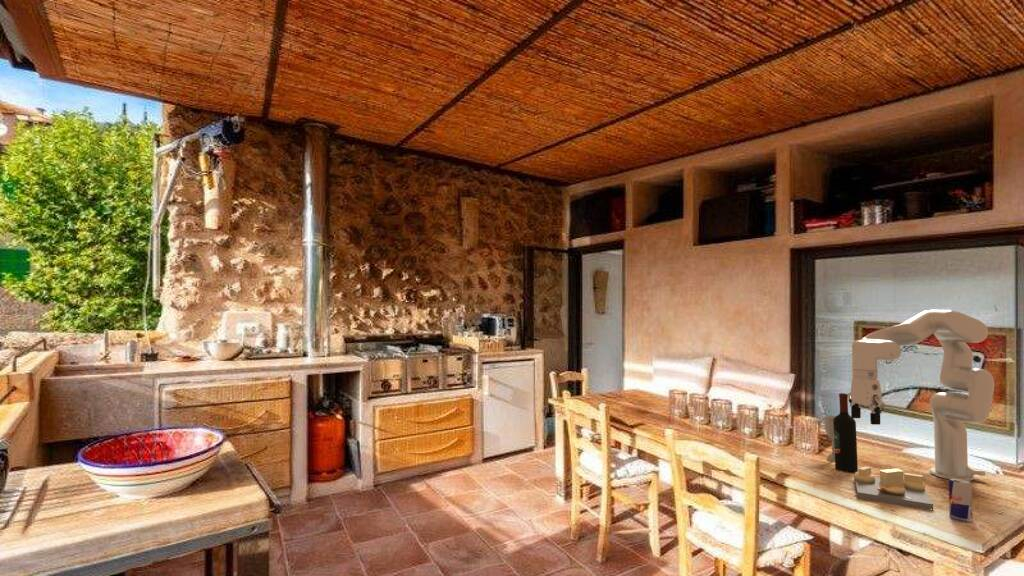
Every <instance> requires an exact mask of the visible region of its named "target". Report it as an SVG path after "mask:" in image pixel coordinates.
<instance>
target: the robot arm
mask: <svg viewBox="0 0 1024 576" xmlns="http://www.w3.org/2000/svg"><path fill="white" fill-rule="evenodd" d="M931 335H934V337H935V339H937V340H938V342H939V343H940V344H941V345H940V346H941V347H942V349H943V358H942V364H941V369H940V374H939V382H940V385H941V386H942V387H943V388H946V389H947V390H952V391H957V392H964V393H968V395H965V394H959V393H952V392H946V391H945V392H937V393H935V394H933V395H932V396H931V398H930V399H929V406H930V411H931V414H932V419H933V429H934V430H933V432H934V433H933V438H934V440H933V441H934V467H931V468H930V469H929V471H930V474H932V475H933V476H936V477H939V478H942V479H946V480H949V478H951V477H955V478H962V479H966V480H969V481H970V482H971V481H973V480H974V479H975V475H976V476H980V477H982V476H983V477H985V476H986V471H985V470H982V469H979V468H971V467H970V465H969V462H968V461H969V459H968V432H967V428H966V426H965V424H964V423H963V422H967V423H971V424H983V423H985V422H986V421H987V420H988V418H989V416H990V413H991V408H992V402H993V399H994V398H993V397H994V391H995V380H994V377H993V375H992V374H991V372H989V371H988V370H986V369H983V368H980V367H979V368H978V367H973V361H974V359H973V358H974V354H973V352H972V349H971V348H970V346H969V345H968V344H967V343H971V344H973V343H974V344H977V343H982V342H983V341H985V340H986V339H987V337H988V335H989V329H988V327H987V325H986V324H985V323H984V322H983V321H981V320H979V319H977V318H975V317H972V316H970V315H967V314H965V313H962V312H960V311H955V310H951V309H929V310H923V311H922V312H919V313H918V314H916V315H914V316H912V317H910V318H909V319H907V320H905V321H903V322H902V323H900V324H896V325H892V326H889V327H886V328H882V329H879V330H875V331H873V332H871V333H868V334H867V335H866V336H864V337H862V338H861V339H860V340H858V339H857V340H854V341H853V342H852V344H851V357H852V358H851V360H852V362H851V363H852V364H851V365H852V368H851V369H852V377H851V384H850V385H851V386H850V392H848V393H846V394H847V396H848V403H849V406H850V412H851V413H850V414H851V415H850V416H851V417H852V418H854V419H861V416H862V415H861V414H862V413H861V411H862V410H861V407H860V406H863V407H868V408H869V410H870V416H869V417H870V418H869V420H870V424H871V425H872V426H873V425H881V414H882V412H883V411H884V408H885V405H886V403H885V401H883V399H882V389H881V383H880V380H879V379H878V361H887V362H891V361H892V362H893V361H895V360H897V359H898V358H900V356H901V355H902V348H901V346H909V345H910V346H911V345H915V344H918V343H920V342H922V341H924V340H925V339H926V338H927V339H928V337H930V336H931Z"/></svg>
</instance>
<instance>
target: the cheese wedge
mask: <svg viewBox="0 0 1024 576" xmlns="http://www.w3.org/2000/svg"><path fill="white" fill-rule="evenodd" d="M879 478H880V483H879V488H878V491H882V492H885V493H888V494H893V495H904V494H905V487H904V486H903V479H904V471H903V470H901V469H900V468H890V469H888V468H887V469H880V470H879Z"/></svg>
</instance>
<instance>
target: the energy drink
mask: <svg viewBox="0 0 1024 576" xmlns="http://www.w3.org/2000/svg"><path fill="white" fill-rule="evenodd" d="M947 483H948V504H949V505H948V509H949V510H948V511H949V512H948V514H949V517H950V519H952V520H953V519H954V520H953V521H956V522H960V523H963V522H965V523H964V524H970V523H973V520H974V517H973V516H974V515H973V513H974V512H973V491H972V490H973V487H972V486H973V485H972V482H971V481H969V480H966V479H962V478H955V477H951V478H949V479H948V482H947Z"/></svg>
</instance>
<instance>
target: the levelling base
mask: <svg viewBox="0 0 1024 576" xmlns="http://www.w3.org/2000/svg"><path fill="white" fill-rule="evenodd" d="M853 479H854V480H853V481H854V484H855V491H856V496H857V498H858V499H861V500H867V501H874V502H879V503H886V504H892V505H898V506H904V507H909V506H910V508H915V507H918V508H917V509H921V508H925V509H924V510H927V509H932V510H931V511H934V503H933V502H932V500H931V498H930V496H929V494H928V492H927V491H926V487H925V486H926V484H925V482H924V476H923V475H922V474H915V473H909V472H903V486H904V487H905V494H904V495H893V494H888V493H885V492H882V491H878V488H879V483H880V477H876V475H875V474H872V466H871V467H870V466H863V467H858V472H855V473H854V475H853Z"/></svg>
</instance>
